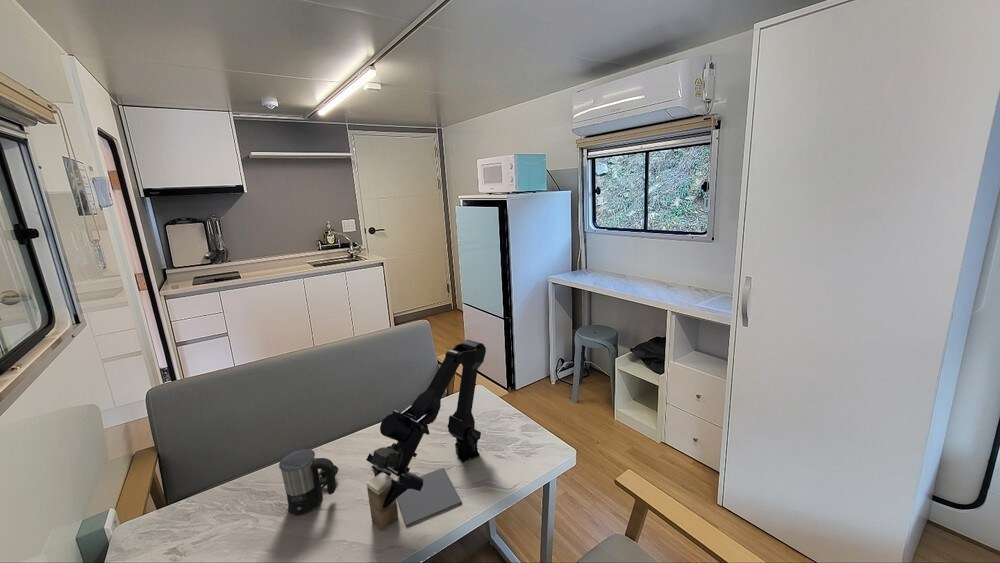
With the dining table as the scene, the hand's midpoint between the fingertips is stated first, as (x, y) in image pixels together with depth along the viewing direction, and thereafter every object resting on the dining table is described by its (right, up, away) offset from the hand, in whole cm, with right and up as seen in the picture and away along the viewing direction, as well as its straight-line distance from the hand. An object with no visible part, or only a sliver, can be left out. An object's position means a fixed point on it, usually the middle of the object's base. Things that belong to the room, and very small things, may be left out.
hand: (378, 503), depth 101 cm
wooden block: (+1, -6, +2) cm, 7 cm away
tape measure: (-6, -2, +26) cm, 27 cm away
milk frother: (-24, -5, +14) cm, 28 cm away
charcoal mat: (+11, -4, +11) cm, 16 cm away
